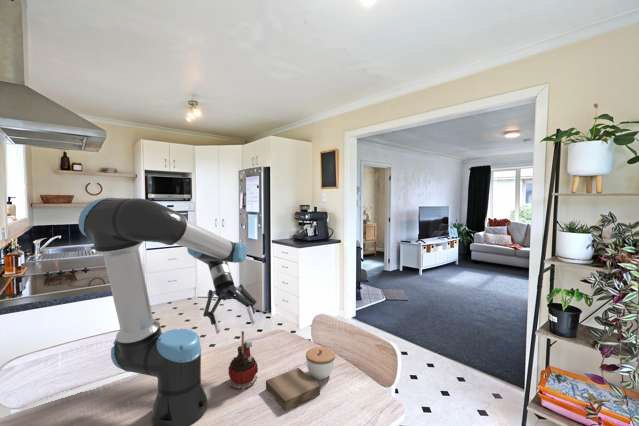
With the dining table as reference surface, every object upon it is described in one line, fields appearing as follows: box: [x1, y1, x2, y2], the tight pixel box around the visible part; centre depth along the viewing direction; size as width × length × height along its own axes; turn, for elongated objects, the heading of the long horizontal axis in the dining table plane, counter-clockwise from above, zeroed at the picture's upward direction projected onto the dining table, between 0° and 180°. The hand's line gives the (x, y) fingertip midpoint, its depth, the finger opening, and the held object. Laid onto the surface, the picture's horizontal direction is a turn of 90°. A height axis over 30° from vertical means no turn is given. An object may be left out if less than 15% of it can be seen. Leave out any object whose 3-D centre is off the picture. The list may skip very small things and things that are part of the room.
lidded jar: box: [305, 346, 336, 380], centre depth 110 cm, size 11×11×9 cm
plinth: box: [265, 367, 321, 412], centre depth 100 cm, size 13×13×3 cm
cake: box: [228, 330, 259, 389], centre depth 105 cm, size 11×9×18 cm
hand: (236, 327), depth 111 cm, fingers open, 13 cm apart
